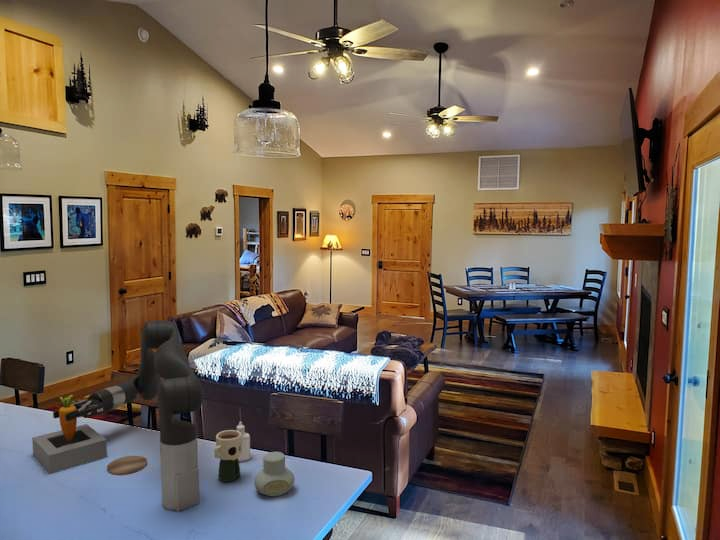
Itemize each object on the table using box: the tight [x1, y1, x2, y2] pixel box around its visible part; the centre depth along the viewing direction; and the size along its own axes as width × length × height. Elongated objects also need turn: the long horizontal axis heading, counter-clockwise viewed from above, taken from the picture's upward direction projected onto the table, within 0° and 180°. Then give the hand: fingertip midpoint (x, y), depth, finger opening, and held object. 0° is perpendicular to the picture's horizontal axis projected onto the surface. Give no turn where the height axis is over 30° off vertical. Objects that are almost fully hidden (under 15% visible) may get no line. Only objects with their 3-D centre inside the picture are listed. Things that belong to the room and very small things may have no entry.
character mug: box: [214, 429, 243, 482], centre depth 151 cm, size 11×7×13 cm, turn 150°
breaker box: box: [31, 423, 108, 475], centre depth 165 cm, size 18×16×6 cm
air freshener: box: [253, 451, 295, 497], centre depth 144 cm, size 11×8×10 cm
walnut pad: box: [107, 455, 148, 476], centre depth 158 cm, size 11×11×1 cm
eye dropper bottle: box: [236, 421, 251, 463], centre depth 163 cm, size 4×6×12 cm
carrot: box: [58, 394, 78, 442], centre depth 164 cm, size 5×5×15 cm
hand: (60, 416), depth 161 cm, fingers closed on carrot, 5 cm apart
